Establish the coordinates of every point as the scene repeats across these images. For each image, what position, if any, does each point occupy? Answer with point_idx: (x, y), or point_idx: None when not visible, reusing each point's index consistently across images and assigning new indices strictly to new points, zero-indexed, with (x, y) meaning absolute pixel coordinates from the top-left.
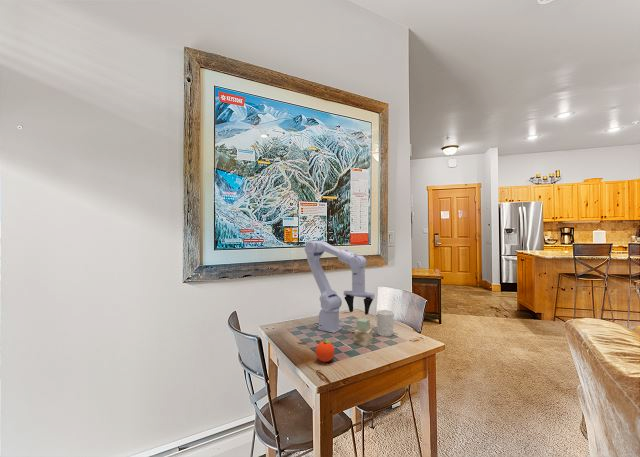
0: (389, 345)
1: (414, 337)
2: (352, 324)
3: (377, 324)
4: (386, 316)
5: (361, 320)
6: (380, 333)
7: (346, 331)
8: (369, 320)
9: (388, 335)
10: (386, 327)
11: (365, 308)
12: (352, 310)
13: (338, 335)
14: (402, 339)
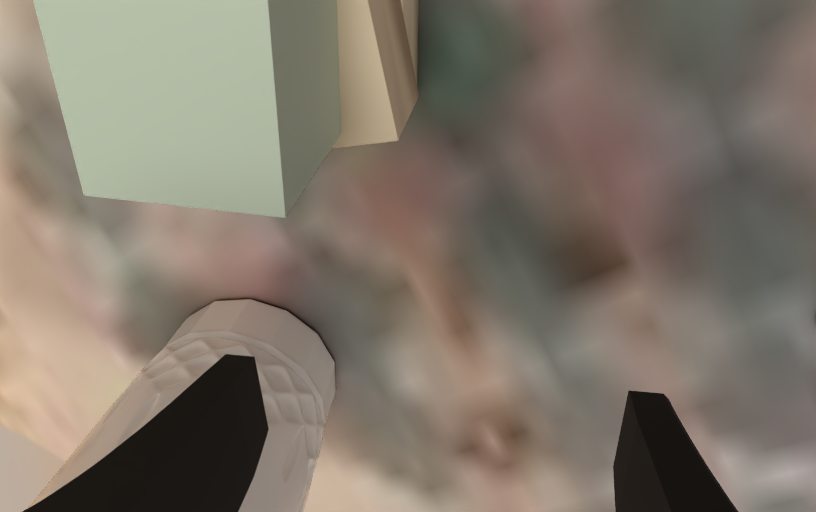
0: (21, 72)
1: (9, 382)
2: (721, 483)
3: (275, 403)
4: (59, 483)
5: (167, 45)
6: (262, 317)
7: (717, 254)
8: (95, 187)
9: (186, 319)
10: (150, 369)
11: (156, 448)
12: (619, 469)
13: (791, 47)
14: (46, 297)
